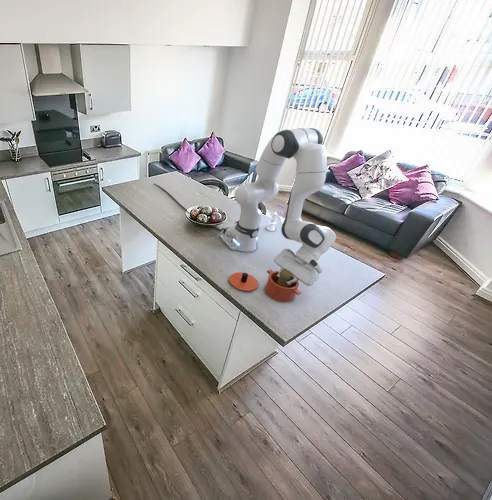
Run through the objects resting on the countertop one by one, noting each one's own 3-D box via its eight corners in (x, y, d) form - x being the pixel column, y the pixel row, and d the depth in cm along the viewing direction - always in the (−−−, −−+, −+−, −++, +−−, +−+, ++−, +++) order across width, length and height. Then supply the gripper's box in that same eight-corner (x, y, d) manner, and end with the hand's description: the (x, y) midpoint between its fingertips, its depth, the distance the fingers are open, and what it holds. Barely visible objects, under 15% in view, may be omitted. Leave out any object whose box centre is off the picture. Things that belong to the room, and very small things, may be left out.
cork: (275, 284, 139) (282, 266, 133) (288, 289, 136) (295, 271, 130) (271, 290, 136) (277, 272, 129) (284, 296, 132) (291, 277, 126)
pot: (284, 309, 128) (290, 295, 123) (255, 284, 141) (259, 272, 137) (304, 300, 132) (310, 287, 128) (274, 277, 146) (278, 265, 141)
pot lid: (242, 295, 135) (244, 286, 132) (223, 278, 145) (225, 270, 142) (263, 287, 140) (266, 278, 137) (243, 271, 150) (246, 263, 147)
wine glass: (274, 231, 184) (279, 214, 178) (265, 229, 186) (270, 212, 180) (275, 228, 188) (280, 211, 181) (267, 226, 190) (271, 209, 184)
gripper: (284, 244, 136) (263, 265, 138) (322, 267, 121) (299, 292, 123) (288, 249, 140) (268, 270, 142) (326, 273, 125) (303, 296, 127)
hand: (282, 280), depth 132 cm, fingers closed on cork, 4 cm apart
